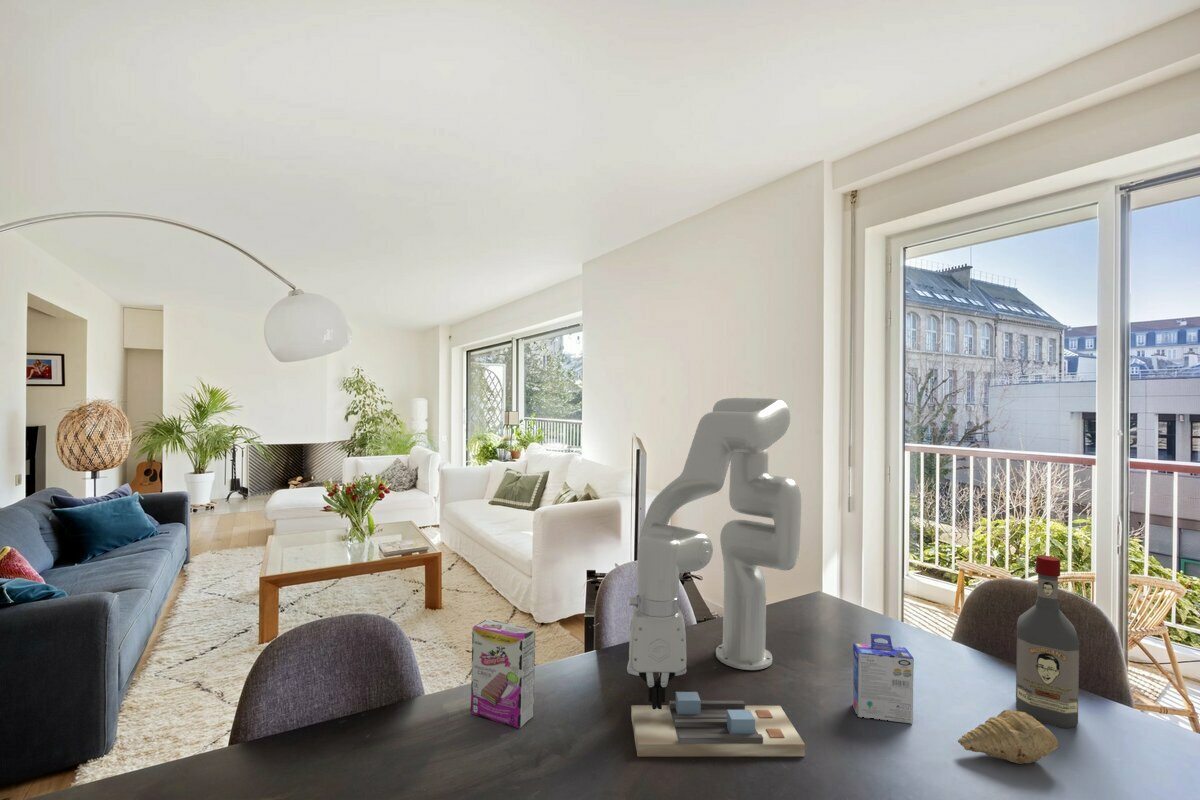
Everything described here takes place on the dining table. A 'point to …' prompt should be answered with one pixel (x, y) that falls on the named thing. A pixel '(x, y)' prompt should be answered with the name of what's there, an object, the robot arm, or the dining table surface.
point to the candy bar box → (503, 672)
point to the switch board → (713, 731)
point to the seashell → (1011, 738)
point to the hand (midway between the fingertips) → (656, 705)
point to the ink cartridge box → (883, 681)
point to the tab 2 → (740, 722)
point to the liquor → (1047, 655)
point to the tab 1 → (688, 703)
